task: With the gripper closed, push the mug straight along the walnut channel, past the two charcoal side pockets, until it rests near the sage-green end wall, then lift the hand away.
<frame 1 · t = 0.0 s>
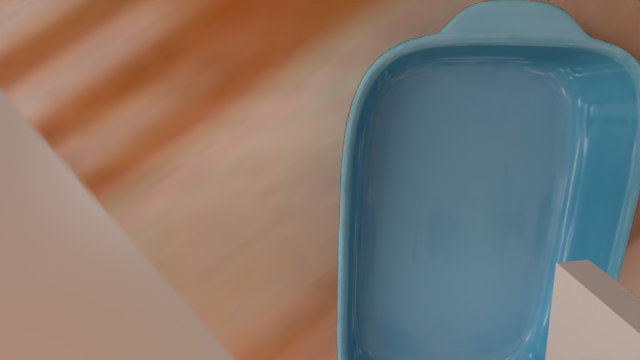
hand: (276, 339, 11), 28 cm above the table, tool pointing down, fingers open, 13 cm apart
casserole dish: (453, 224, 42), on the table
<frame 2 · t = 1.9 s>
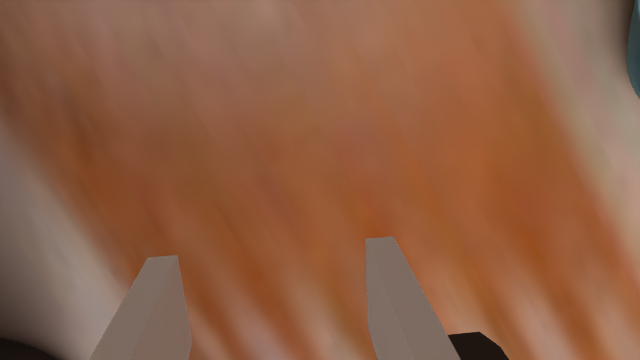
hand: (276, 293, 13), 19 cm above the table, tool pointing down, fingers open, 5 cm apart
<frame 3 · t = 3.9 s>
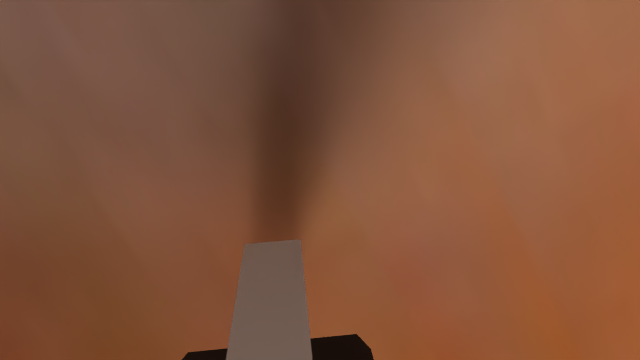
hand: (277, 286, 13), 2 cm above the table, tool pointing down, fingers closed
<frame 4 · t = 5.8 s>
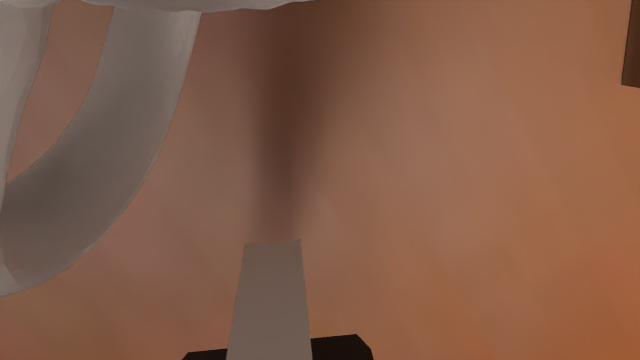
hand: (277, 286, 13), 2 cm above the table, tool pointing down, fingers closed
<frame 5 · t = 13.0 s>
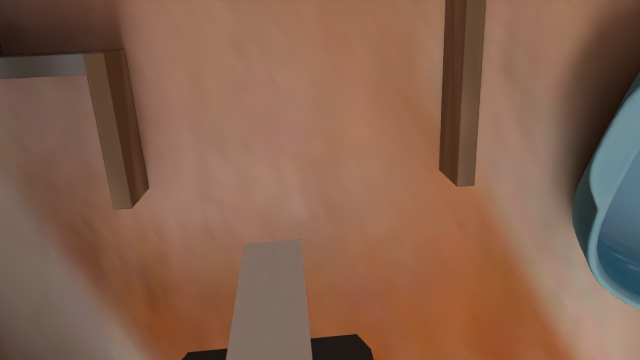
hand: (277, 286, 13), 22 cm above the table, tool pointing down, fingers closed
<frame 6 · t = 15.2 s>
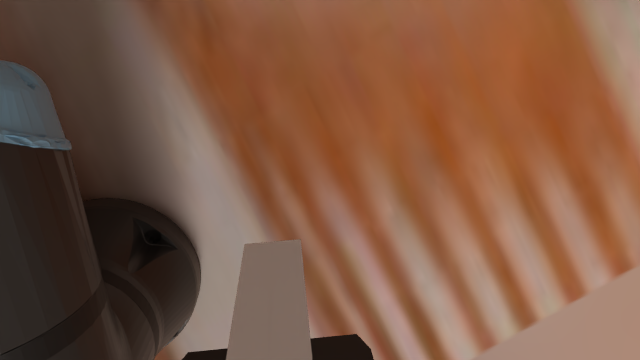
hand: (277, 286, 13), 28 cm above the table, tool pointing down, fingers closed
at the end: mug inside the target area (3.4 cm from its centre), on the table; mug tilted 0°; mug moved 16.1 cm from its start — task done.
